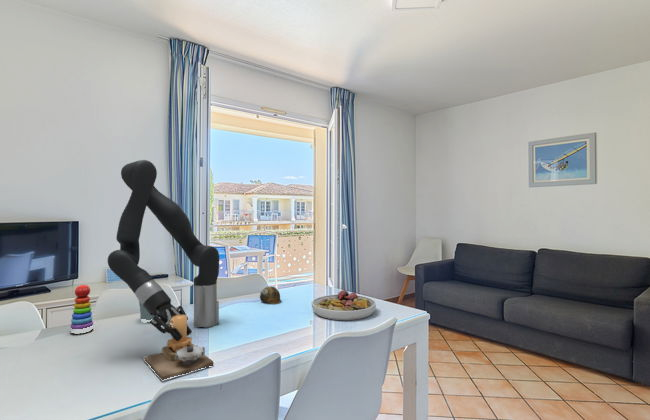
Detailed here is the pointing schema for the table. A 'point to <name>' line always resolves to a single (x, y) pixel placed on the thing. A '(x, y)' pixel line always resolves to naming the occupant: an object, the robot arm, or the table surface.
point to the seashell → (270, 295)
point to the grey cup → (144, 313)
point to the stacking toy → (82, 308)
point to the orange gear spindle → (181, 326)
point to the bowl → (343, 306)
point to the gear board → (178, 361)
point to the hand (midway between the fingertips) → (184, 336)
